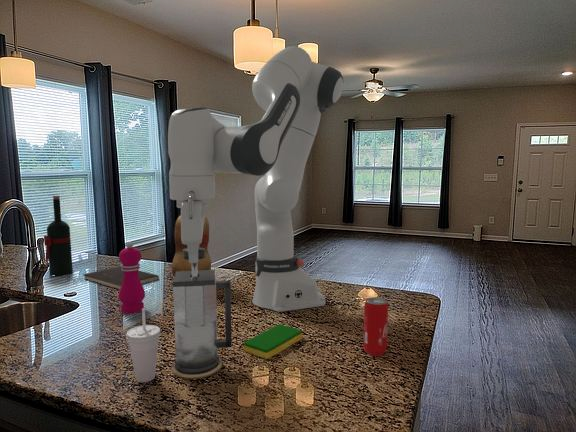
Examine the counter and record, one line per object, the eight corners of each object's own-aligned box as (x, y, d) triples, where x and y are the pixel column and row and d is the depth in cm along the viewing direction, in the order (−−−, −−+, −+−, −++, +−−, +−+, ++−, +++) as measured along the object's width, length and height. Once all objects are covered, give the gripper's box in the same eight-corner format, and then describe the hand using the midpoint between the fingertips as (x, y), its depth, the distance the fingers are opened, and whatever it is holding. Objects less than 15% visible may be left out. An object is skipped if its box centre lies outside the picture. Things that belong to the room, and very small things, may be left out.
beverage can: (370, 344, 98) (371, 295, 97) (390, 350, 95) (392, 300, 94) (359, 352, 94) (360, 301, 93) (380, 359, 91) (381, 306, 90)
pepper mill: (137, 315, 117) (133, 245, 114) (113, 313, 118) (110, 244, 116) (150, 306, 124) (147, 240, 121) (128, 305, 125) (125, 239, 123)
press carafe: (230, 352, 94) (229, 267, 92) (233, 375, 84) (231, 280, 81) (173, 357, 92) (170, 270, 89) (169, 381, 82) (165, 284, 79)
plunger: (210, 311, 90) (209, 246, 88) (210, 321, 84) (209, 252, 82) (181, 312, 89) (179, 247, 87) (179, 323, 83) (177, 253, 81)
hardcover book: (119, 291, 140) (119, 284, 140) (83, 280, 154) (82, 274, 153) (159, 280, 153) (158, 274, 153) (122, 271, 167) (122, 265, 166)
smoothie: (165, 369, 86) (163, 304, 85) (157, 385, 80) (154, 315, 78) (134, 369, 86) (131, 304, 84) (123, 386, 80) (119, 315, 78)
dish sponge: (242, 352, 95) (242, 342, 95) (279, 332, 106) (279, 323, 106) (267, 361, 91) (267, 350, 91) (302, 339, 102) (302, 330, 102)
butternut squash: (192, 291, 139) (190, 216, 136) (164, 285, 146) (161, 214, 143) (219, 281, 151) (218, 212, 148) (192, 276, 158) (191, 210, 155)
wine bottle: (39, 276, 157) (33, 196, 154) (65, 270, 166) (60, 194, 162) (51, 278, 153) (45, 197, 150) (77, 272, 162) (72, 195, 158)
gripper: (208, 193, 73) (210, 270, 75) (208, 187, 93) (210, 247, 95) (171, 194, 72) (174, 271, 74) (179, 187, 92) (181, 248, 94)
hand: (194, 258), depth 85 cm, fingers open, 6 cm apart
